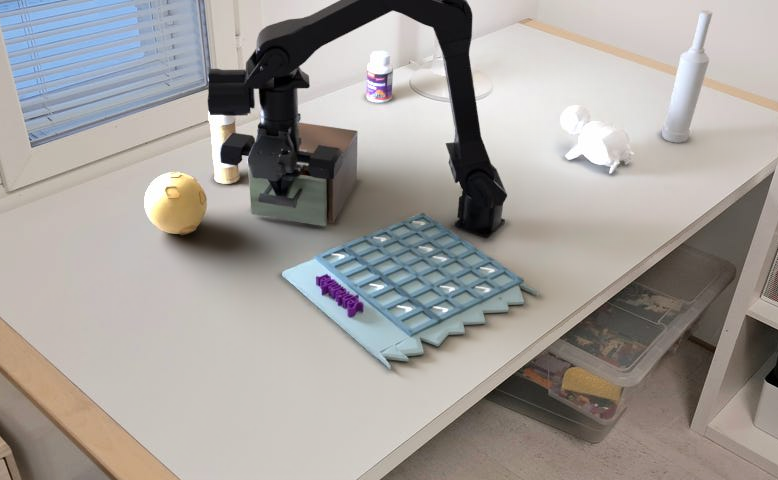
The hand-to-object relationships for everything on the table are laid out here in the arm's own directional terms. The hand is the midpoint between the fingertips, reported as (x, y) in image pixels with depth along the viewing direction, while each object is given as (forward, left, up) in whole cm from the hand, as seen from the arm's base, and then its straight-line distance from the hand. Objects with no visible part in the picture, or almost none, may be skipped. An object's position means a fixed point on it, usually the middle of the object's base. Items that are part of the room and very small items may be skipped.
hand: (283, 202), depth 141 cm
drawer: (+2, -6, -4) cm, 8 cm away
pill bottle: (+17, -52, -6) cm, 55 cm away
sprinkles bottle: (+19, -7, -6) cm, 21 cm away
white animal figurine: (-30, -55, -6) cm, 63 cm away
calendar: (-25, 0, -6) cm, 25 cm away
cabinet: (+4, -11, -5) cm, 13 cm away
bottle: (-40, -73, -6) cm, 83 cm away
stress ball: (+14, +10, -6) cm, 18 cm away
